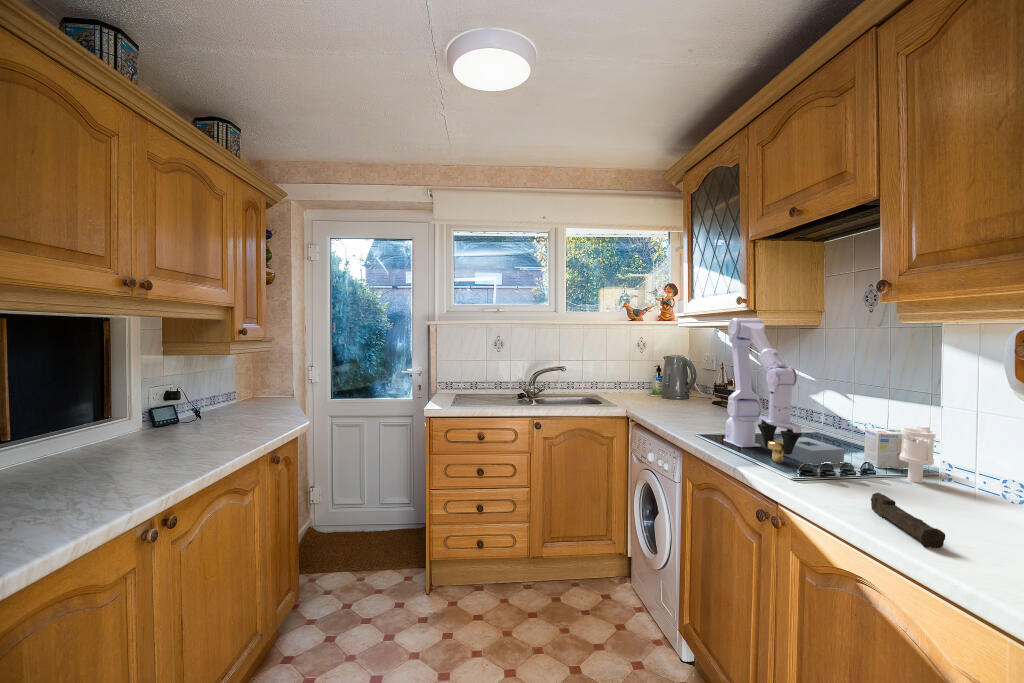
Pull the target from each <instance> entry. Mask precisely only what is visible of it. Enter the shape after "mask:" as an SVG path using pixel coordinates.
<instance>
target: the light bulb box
mask: <svg viewBox="0 0 1024 683" xmlns="http://www.w3.org/2000/svg"><path fill="white" fill-rule="evenodd" d="M864 430H865V432H864V433H865V434H864V451H863V452H864V456H863V461H864V460H865V461H869V462H871V463H873V464H874V465H876V466H878V467H890V468H908V466H909V462H906V461H903V460H901V459H899V456H900V454H901V446H902V433H901V429H891V428H865V429H864ZM907 436H908V435H907ZM913 442H917V443H918V440H914V439H913Z"/></svg>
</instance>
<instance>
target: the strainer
mask: <svg viewBox="0 0 1024 683" xmlns="http://www.w3.org/2000/svg"><path fill="white" fill-rule="evenodd" d="M930 429H931V427H930V426H928V425H927V426H926V425H918V426H917V427H916V428H913V427H902V428H900V430H901V433H902V446H901V454H900V456H899V459H901V460H903V461H906V462H909V466H908V470H907V471H908V472H907V481H909V482H911V483H916V484H922V483H923V482H924V481H923V479H924V478H923V477H924V466H933V465H935V464H934V463H935V459H934V446H935V445H934V443H935V438H936V434H937V433H936V432H935V431H931V430H930ZM907 435H908V436H907ZM913 439H914V440H917V442H913Z"/></svg>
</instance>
